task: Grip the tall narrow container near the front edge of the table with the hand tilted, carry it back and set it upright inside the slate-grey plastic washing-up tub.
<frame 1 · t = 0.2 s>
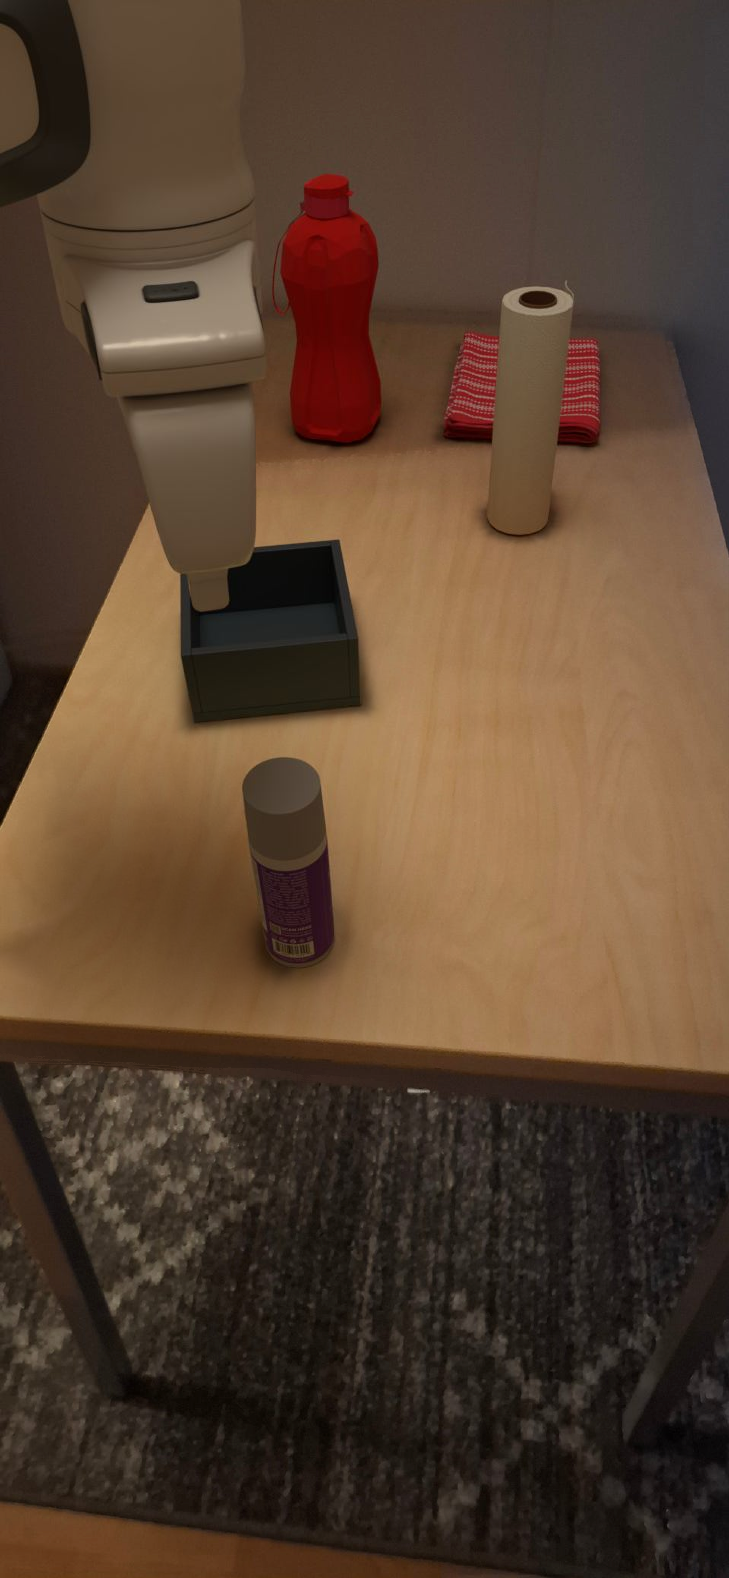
hand: (197, 552, 55), 26 cm above the table, tool pointing down, fingers open, 8 cm apart
water bottle: (329, 426, 117), on the table
container: (300, 940, 70), on the table
dish towel: (524, 396, 121), on the table
tub: (272, 660, 89), on the table
paper towel roll: (522, 520, 103), on the table
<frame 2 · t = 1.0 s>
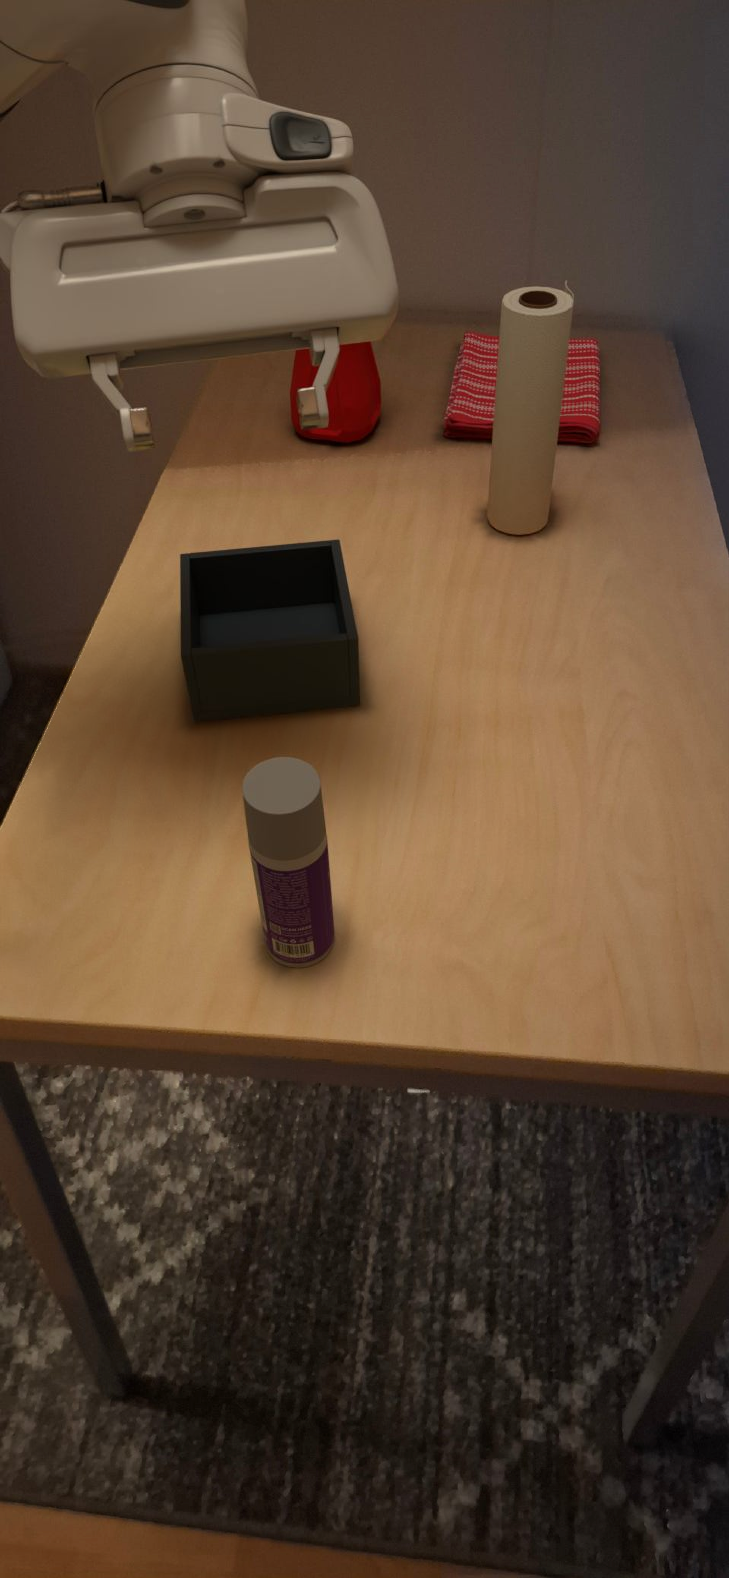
hand: (228, 436, 56), 30 cm above the table, tool tilted 45°, fingers open, 8 cm apart
nothing on the table moved.
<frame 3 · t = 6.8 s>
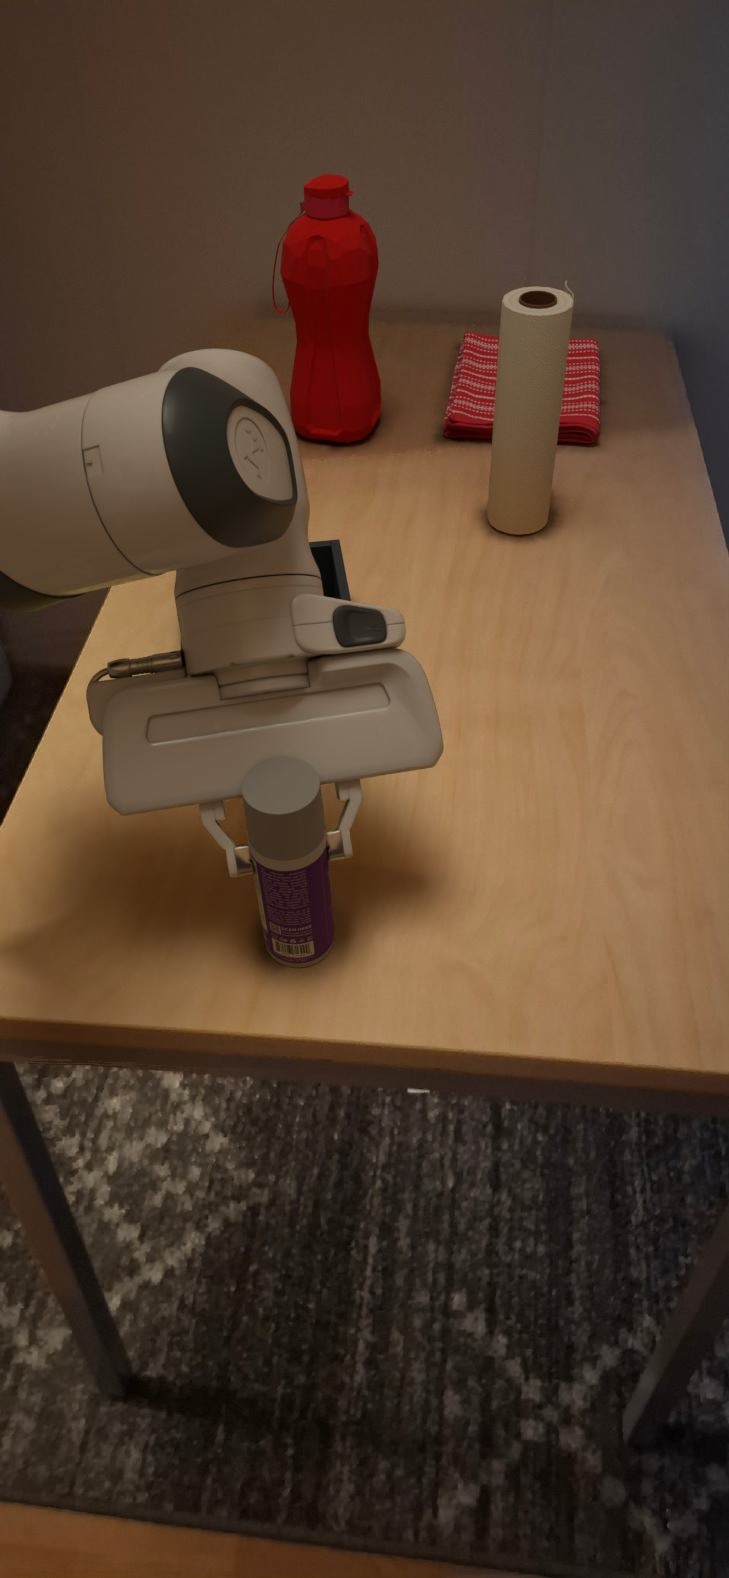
hand: (292, 866, 63), 8 cm above the table, tool tilted 45°, fingers closed on container, 4 cm apart
container: (300, 940, 70), on the table, touching gripper
everything else where it was.
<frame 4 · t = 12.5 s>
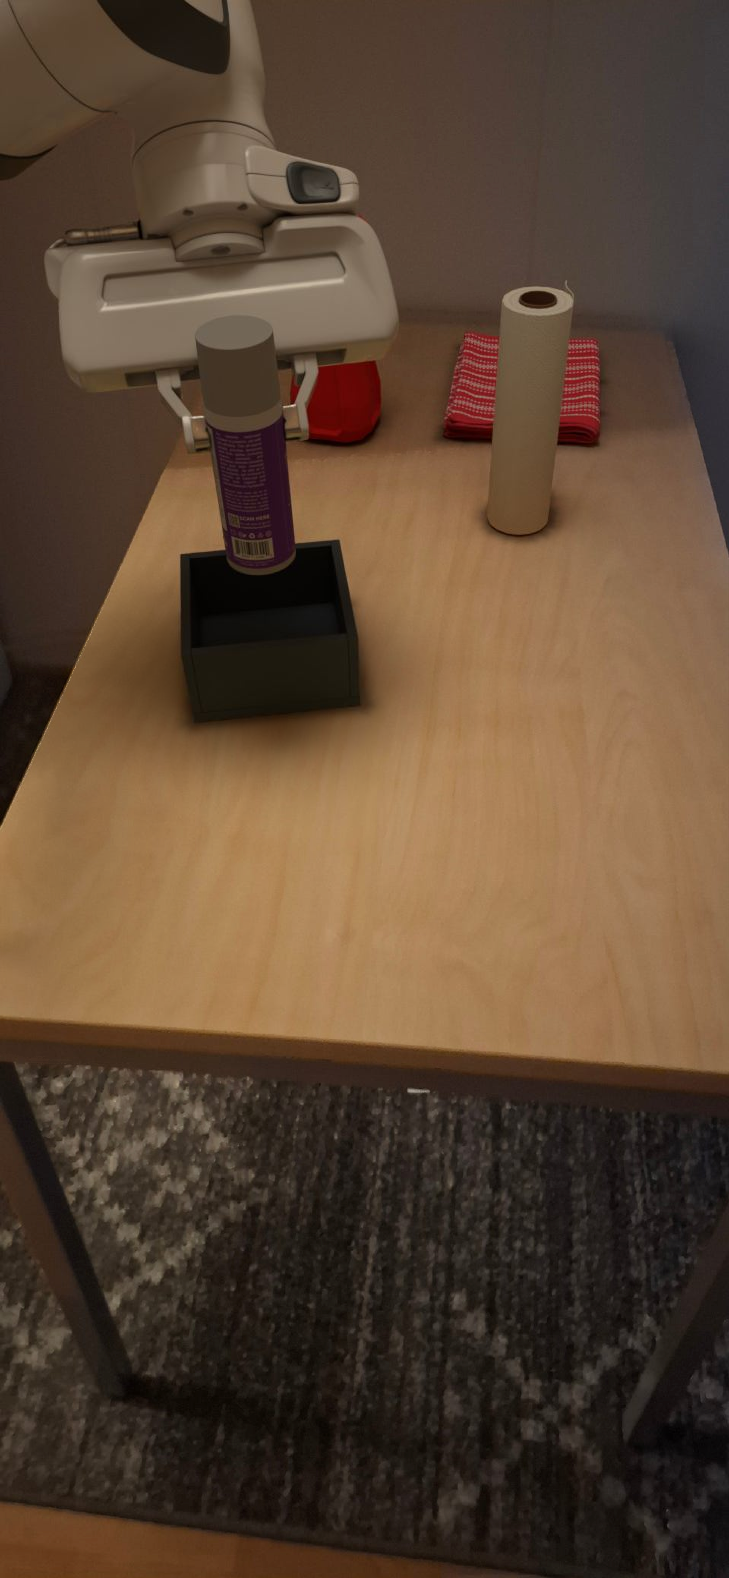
hand: (249, 444, 63), 26 cm above the table, tool tilted 45°, fingers closed on container, 4 cm apart
container: (261, 557, 70), point 17 cm above the table, touching gripper
everything else where it was.
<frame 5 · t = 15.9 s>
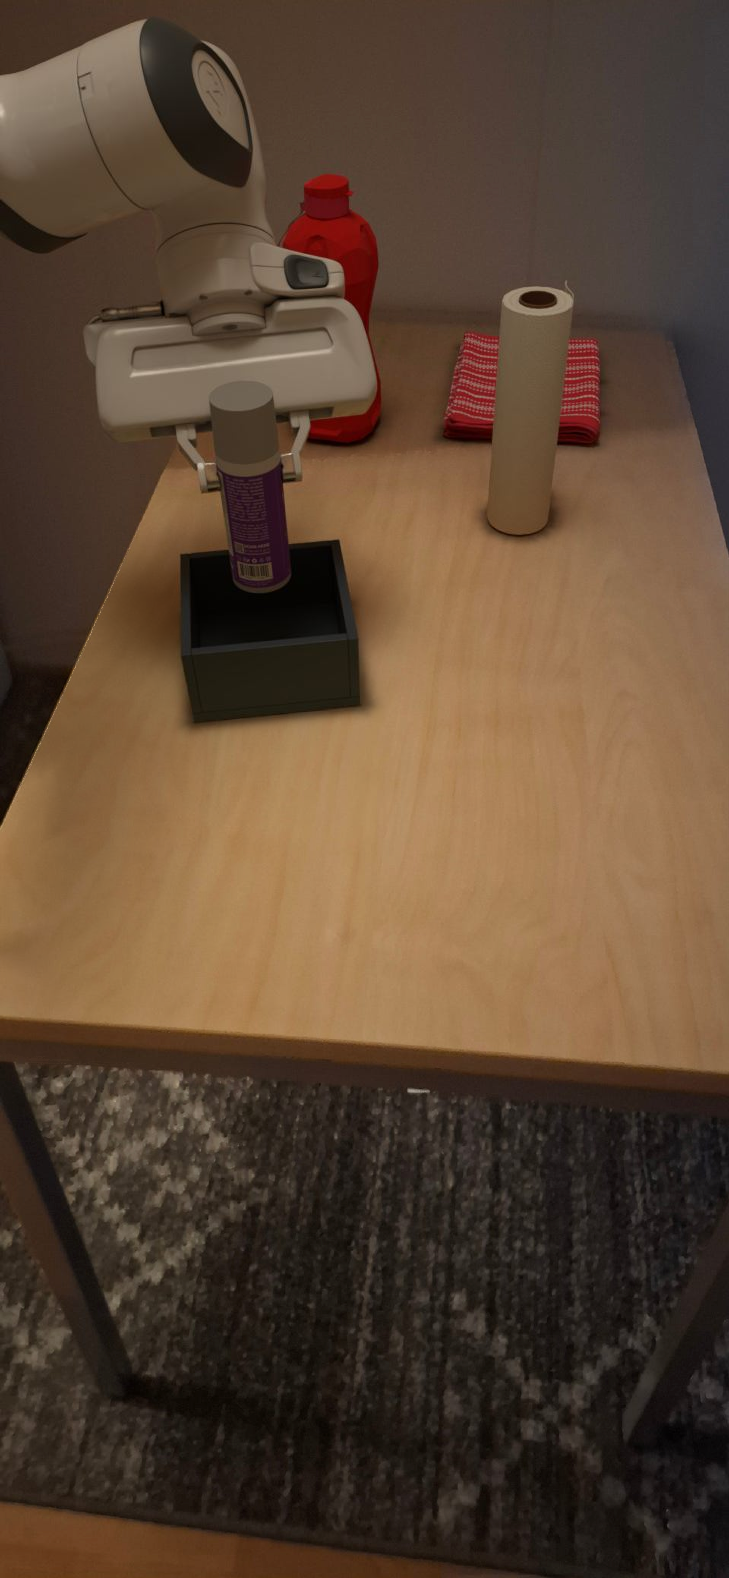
hand: (252, 485, 76), 17 cm above the table, tool tilted 45°, fingers closed on container, 5 cm apart
container: (262, 577, 83), point 9 cm above the table, touching gripper
everything else where it was.
when the fingers open (9 cm above the table, at t = 18.5 s): container stays where it is, resting on tub.
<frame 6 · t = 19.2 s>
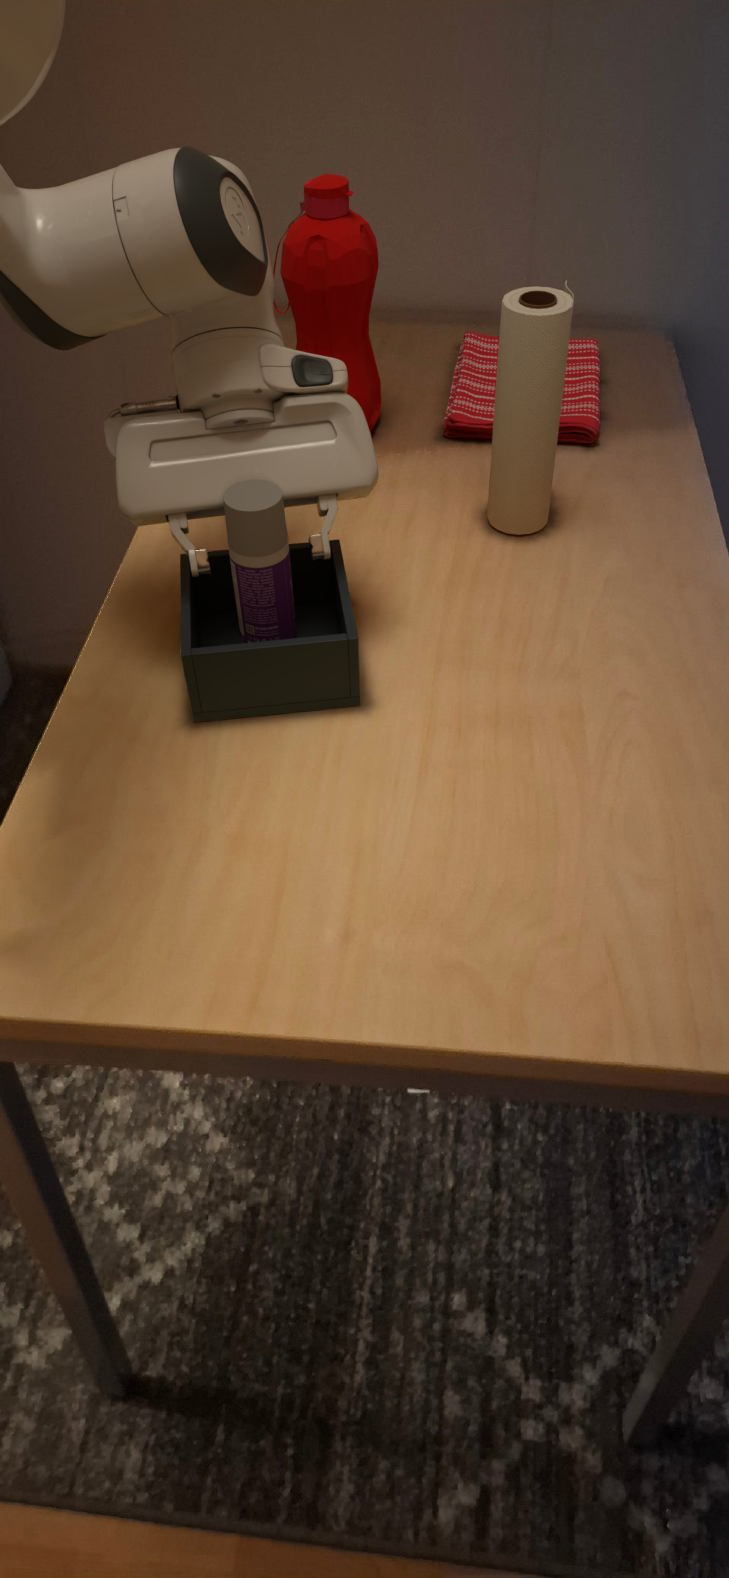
hand: (261, 567, 81), 10 cm above the table, tool tilted 45°, fingers open, 8 cm apart
container: (270, 653, 89), point 1 cm above the table, touching tub
everything else where it was.
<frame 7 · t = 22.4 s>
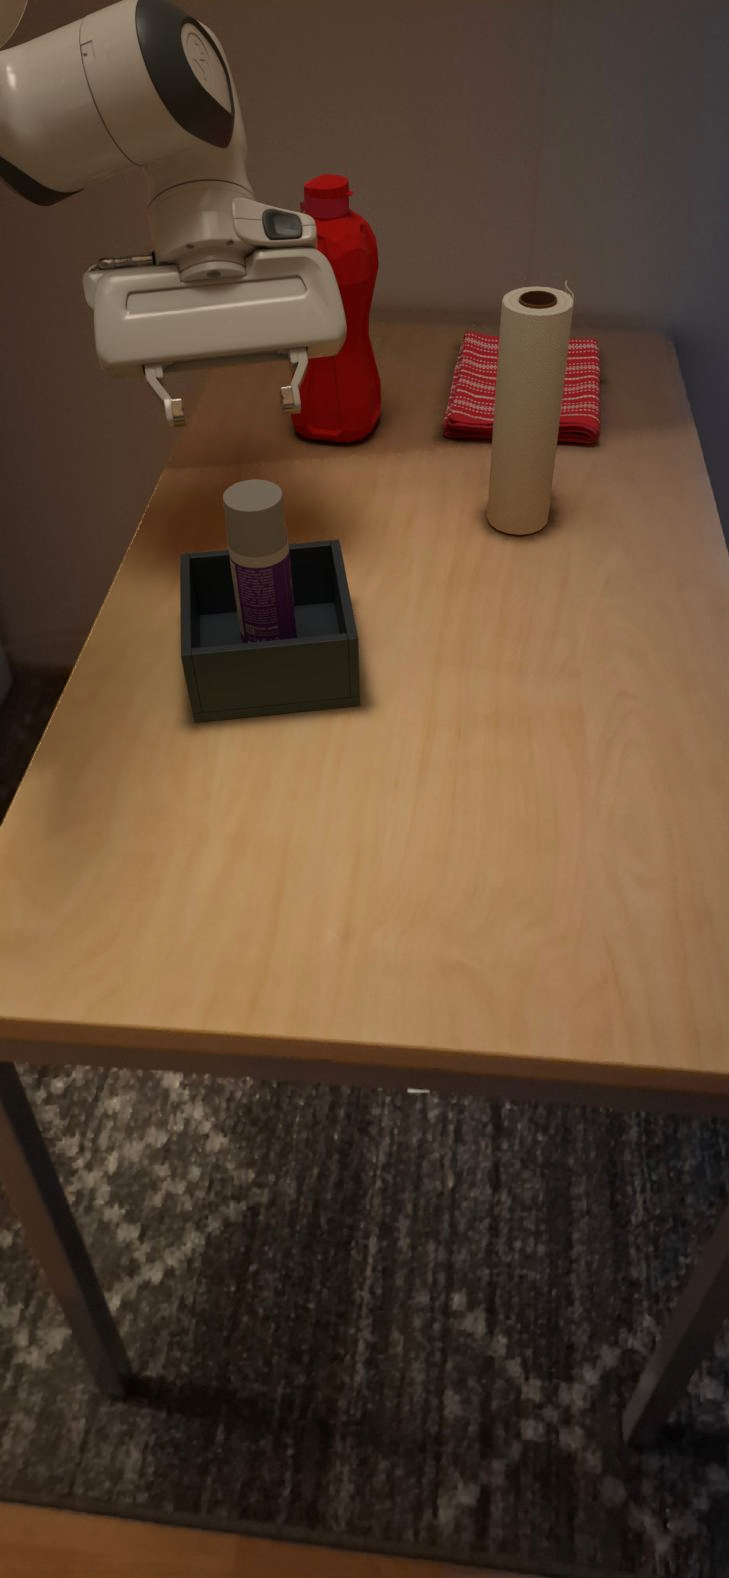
hand: (234, 418, 85), 16 cm above the table, tool tilted 45°, fingers open, 8 cm apart
nothing on the table moved.
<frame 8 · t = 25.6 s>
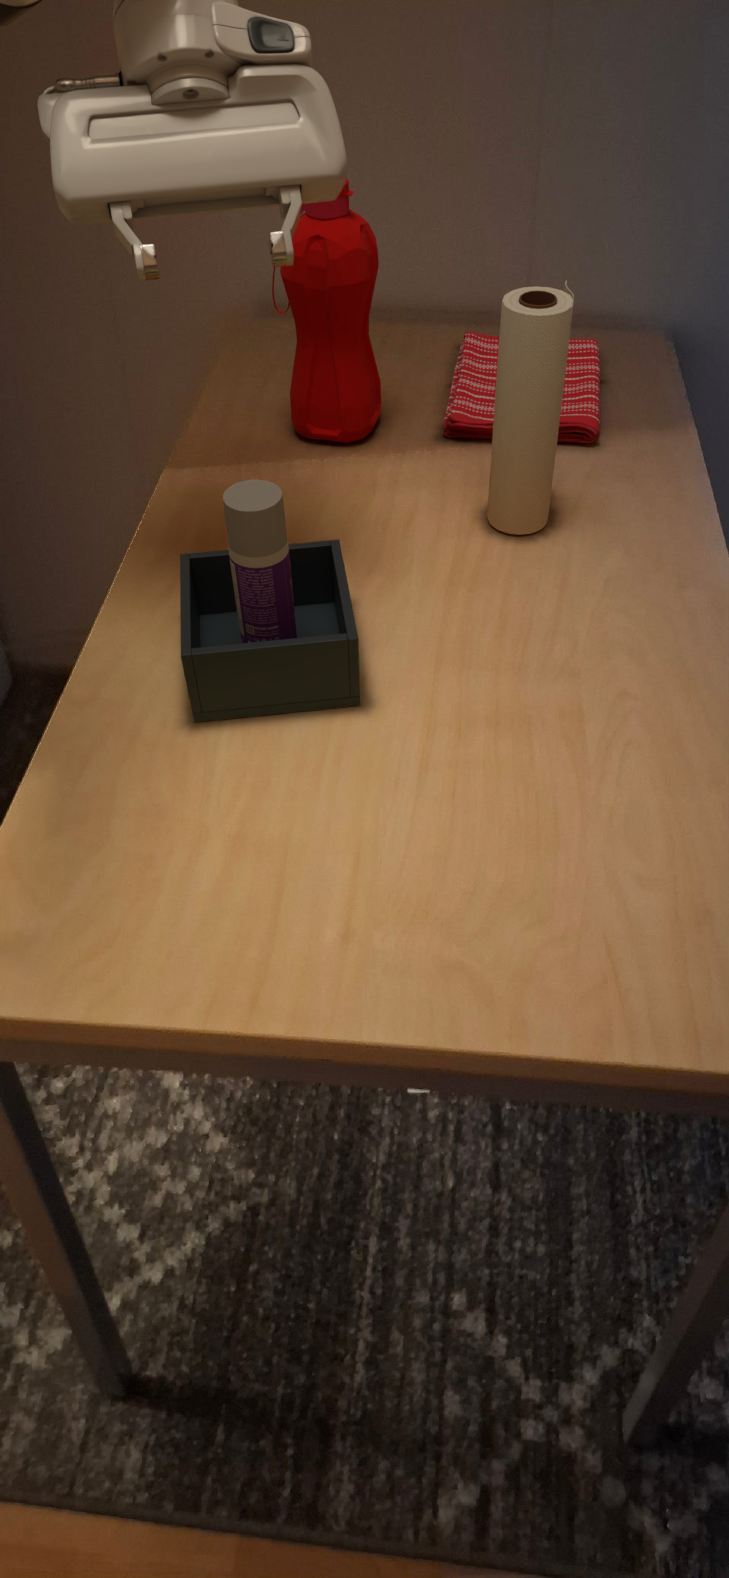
hand: (216, 269, 73), 29 cm above the table, tool tilted 45°, fingers open, 8 cm apart
nothing on the table moved.
at the end: container inside the target area in the tub (0.1 cm from its centre), point 0.8 cm above the tub's base; container tilted 0°; the gripper is holding nothing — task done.
